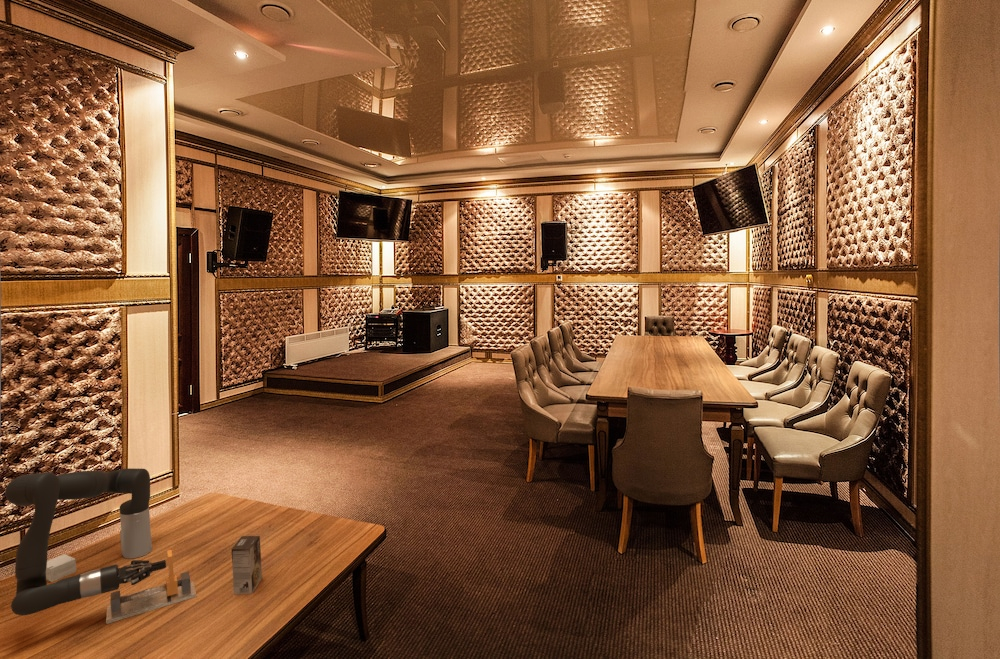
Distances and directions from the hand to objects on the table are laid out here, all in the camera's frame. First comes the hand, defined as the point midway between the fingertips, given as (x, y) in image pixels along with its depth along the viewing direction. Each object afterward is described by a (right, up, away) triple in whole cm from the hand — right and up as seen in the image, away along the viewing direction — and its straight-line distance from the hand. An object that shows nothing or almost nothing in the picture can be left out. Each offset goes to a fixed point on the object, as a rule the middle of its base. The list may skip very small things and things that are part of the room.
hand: (165, 563), depth 173 cm
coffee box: (+23, -11, +8) cm, 27 cm away
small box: (-48, -11, +16) cm, 52 cm away
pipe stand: (-3, -12, -1) cm, 13 cm away
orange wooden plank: (+1, -10, +2) cm, 10 cm away
